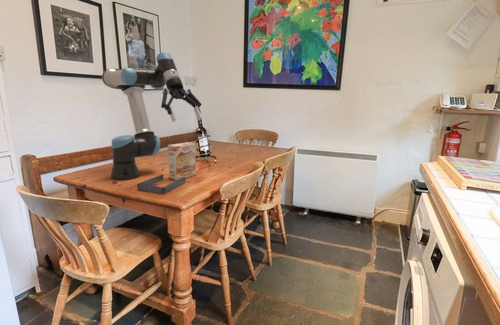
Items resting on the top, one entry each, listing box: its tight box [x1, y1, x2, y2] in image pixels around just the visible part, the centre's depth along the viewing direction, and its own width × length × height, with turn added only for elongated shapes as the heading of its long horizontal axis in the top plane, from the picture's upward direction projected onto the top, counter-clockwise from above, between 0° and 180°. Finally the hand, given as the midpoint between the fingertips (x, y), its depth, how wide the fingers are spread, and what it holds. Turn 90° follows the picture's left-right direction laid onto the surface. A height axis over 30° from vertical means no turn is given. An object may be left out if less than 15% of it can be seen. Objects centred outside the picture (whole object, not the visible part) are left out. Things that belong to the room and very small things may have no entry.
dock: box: [137, 173, 186, 195], centre depth 150 cm, size 15×20×3 cm
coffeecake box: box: [167, 141, 197, 181], centre depth 166 cm, size 15×7×20 cm, turn 143°
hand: (187, 119), depth 132 cm, fingers open, 13 cm apart
